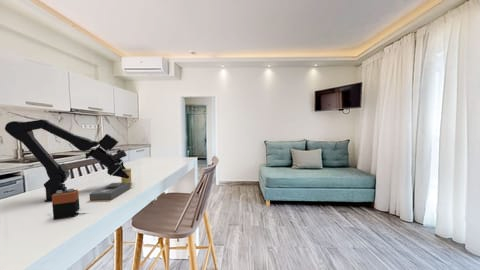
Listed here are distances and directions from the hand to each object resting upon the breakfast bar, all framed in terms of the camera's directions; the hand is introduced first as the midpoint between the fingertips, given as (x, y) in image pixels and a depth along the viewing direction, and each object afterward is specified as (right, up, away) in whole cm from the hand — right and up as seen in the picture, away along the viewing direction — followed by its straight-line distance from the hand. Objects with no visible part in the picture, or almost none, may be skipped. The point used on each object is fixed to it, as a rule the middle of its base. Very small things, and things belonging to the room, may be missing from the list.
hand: (129, 175), depth 110 cm
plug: (-1, -7, 0) cm, 7 cm away
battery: (-6, -9, -33) cm, 34 cm away
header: (-1, -7, -13) cm, 15 cm away
